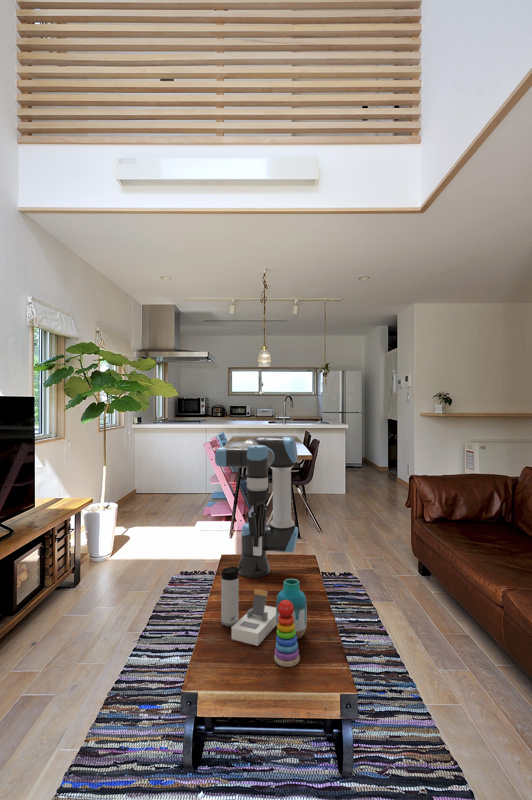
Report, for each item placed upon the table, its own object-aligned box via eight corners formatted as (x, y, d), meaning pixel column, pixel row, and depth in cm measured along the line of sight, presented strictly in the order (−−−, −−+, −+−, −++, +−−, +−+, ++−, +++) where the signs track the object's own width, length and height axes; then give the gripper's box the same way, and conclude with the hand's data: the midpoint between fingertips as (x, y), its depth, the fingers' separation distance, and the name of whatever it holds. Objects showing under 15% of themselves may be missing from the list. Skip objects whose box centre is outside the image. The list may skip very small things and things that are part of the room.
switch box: (257, 614, 174) (257, 598, 174) (281, 619, 169) (281, 603, 169) (231, 639, 155) (231, 621, 155) (257, 645, 151) (257, 627, 151)
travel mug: (236, 627, 163) (236, 571, 163) (219, 625, 165) (219, 570, 164) (241, 619, 169) (241, 565, 169) (224, 617, 171) (224, 564, 171)
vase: (290, 626, 164) (290, 573, 164) (313, 637, 157) (313, 581, 157) (269, 636, 157) (269, 581, 157) (292, 648, 149) (292, 590, 149)
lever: (252, 615, 164) (256, 589, 167) (263, 618, 162) (267, 591, 165) (250, 615, 162) (254, 589, 165) (261, 618, 160) (265, 591, 163)
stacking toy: (298, 653, 147) (298, 595, 147) (300, 668, 139) (300, 606, 139) (273, 653, 146) (273, 595, 146) (274, 668, 138) (274, 606, 138)
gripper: (256, 484, 170) (255, 548, 170) (239, 491, 158) (239, 559, 158) (274, 486, 167) (274, 550, 167) (259, 493, 155) (259, 562, 155)
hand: (257, 554), depth 162 cm, fingers closed
